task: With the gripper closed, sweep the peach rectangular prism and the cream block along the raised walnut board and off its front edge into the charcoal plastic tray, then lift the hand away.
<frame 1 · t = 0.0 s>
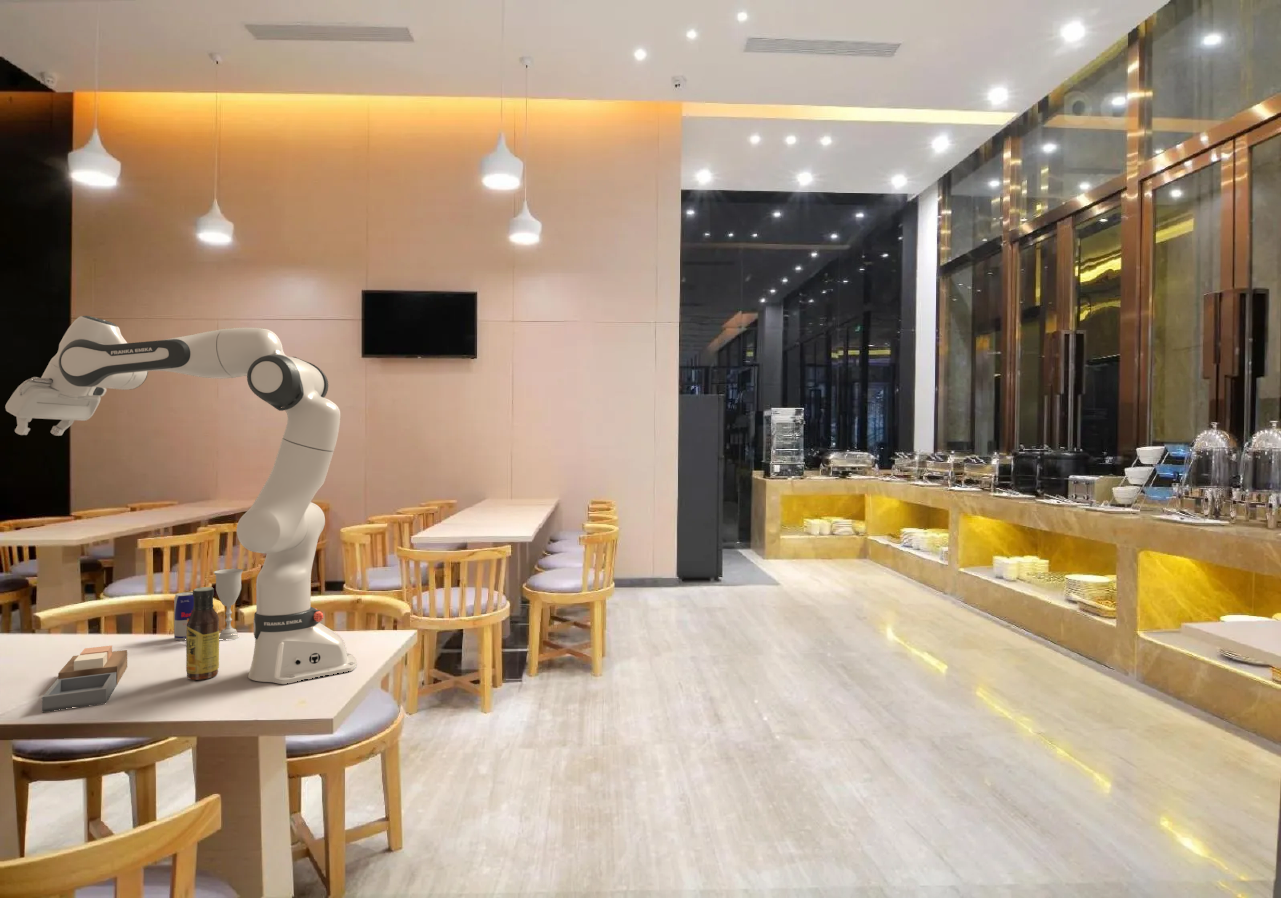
hand: (38, 434, 162), 54 cm above the table, tool tilted 30°, fingers open, 8 cm apart
peach rectangular prism: (96, 658, 159), point 4 cm above the table, touching walnut board
chalice: (228, 638, 191), on the table
energy drink: (186, 639, 191), on the table
cream block: (91, 665, 154), point 4 cm above the table, touching walnut board
walnut board: (94, 679, 157), on the table
charcoal tray: (81, 698, 145), on the table
sauce bottle: (202, 678, 159), on the table
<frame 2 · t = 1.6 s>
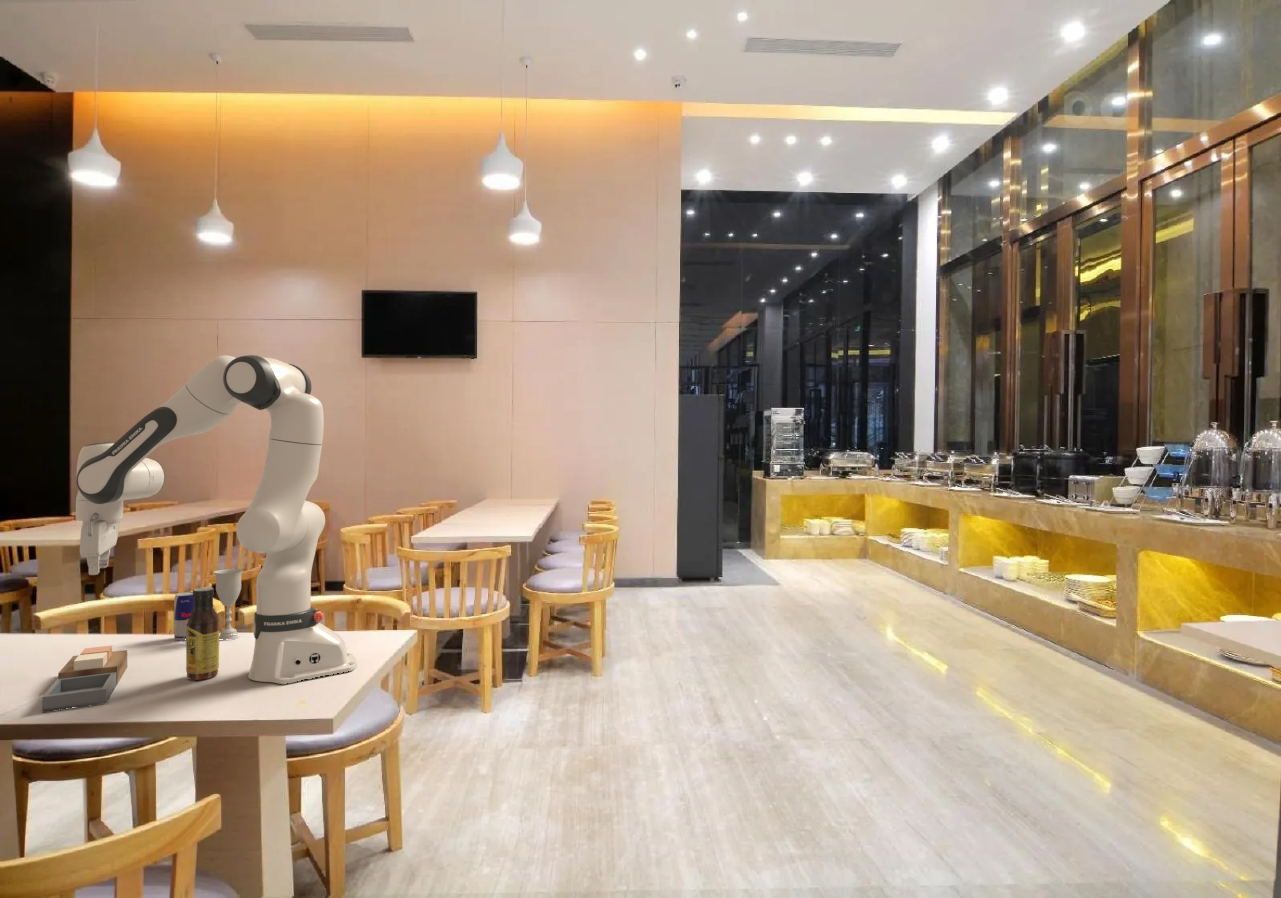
hand: (98, 571, 166), 22 cm above the table, tool pointing down, fingers open, 8 cm apart
nothing on the table moved.
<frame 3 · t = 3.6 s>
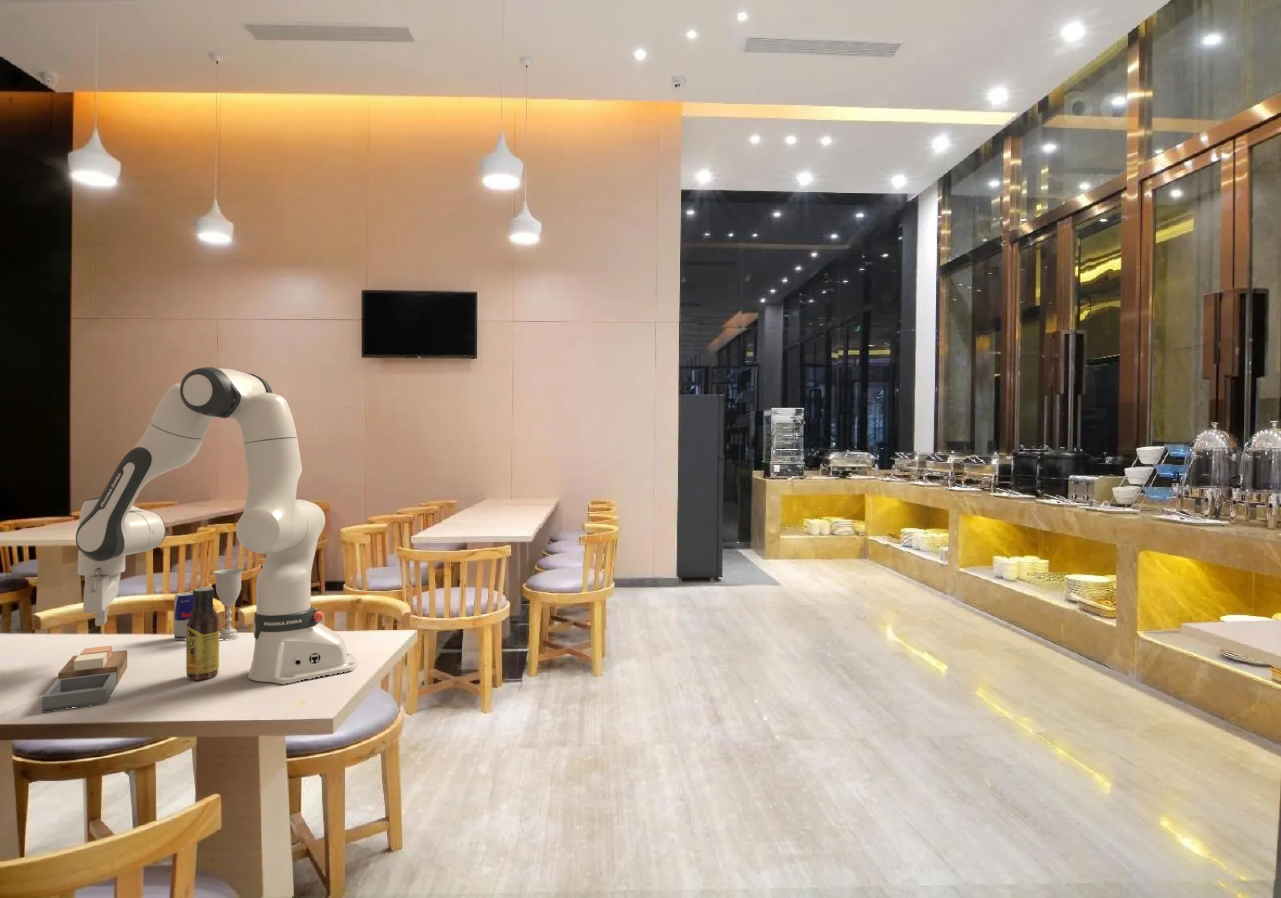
hand: (101, 624, 166), 10 cm above the table, tool pointing down, fingers closed
nothing on the table moved.
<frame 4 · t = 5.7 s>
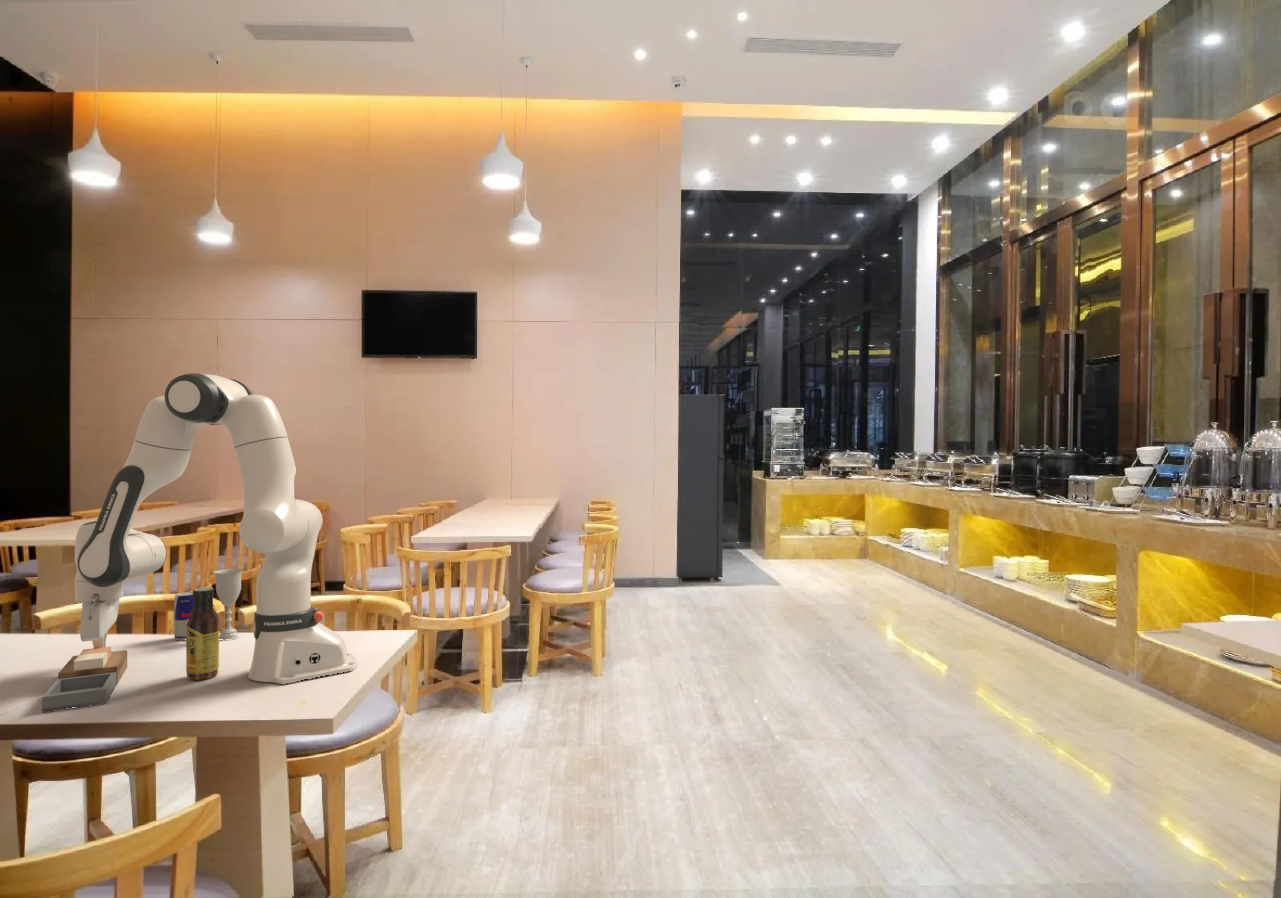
hand: (99, 651, 162), 5 cm above the table, tool pointing down, fingers closed
peach rectangular prism: (95, 659, 158), point 4 cm above the table, touching cream block, gripper
cream block: (91, 665, 154), point 4 cm above the table, touching peach rectangular prism
everything else where it was.
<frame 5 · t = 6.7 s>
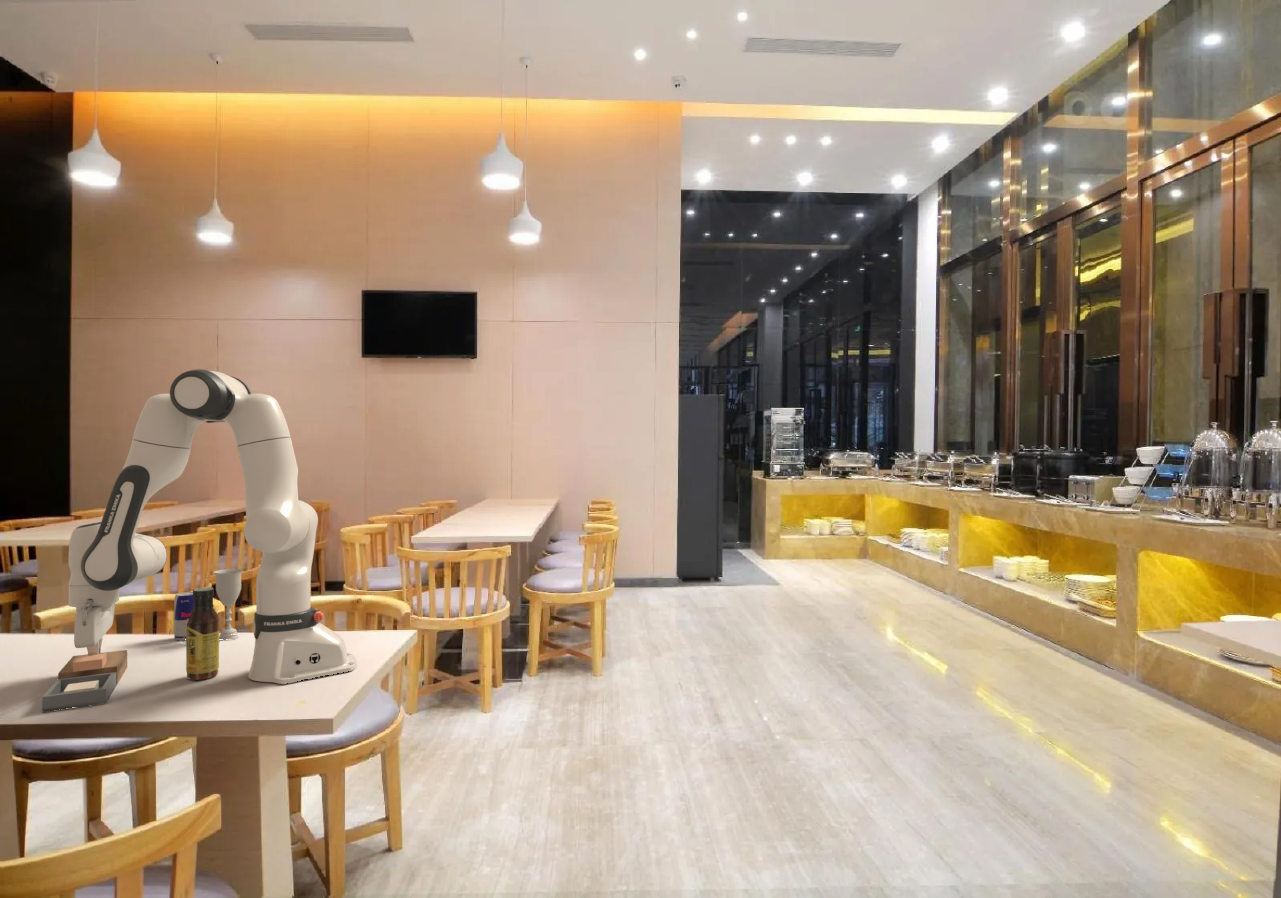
hand: (94, 658, 157), 5 cm above the table, tool pointing down, fingers closed
peach rectangular prism: (90, 667, 153), point 4 cm above the table, touching gripper, walnut board
cream block: (81, 685, 145), point 3 cm above the table, tilted 180°, touching charcoal tray
everything else where it was.
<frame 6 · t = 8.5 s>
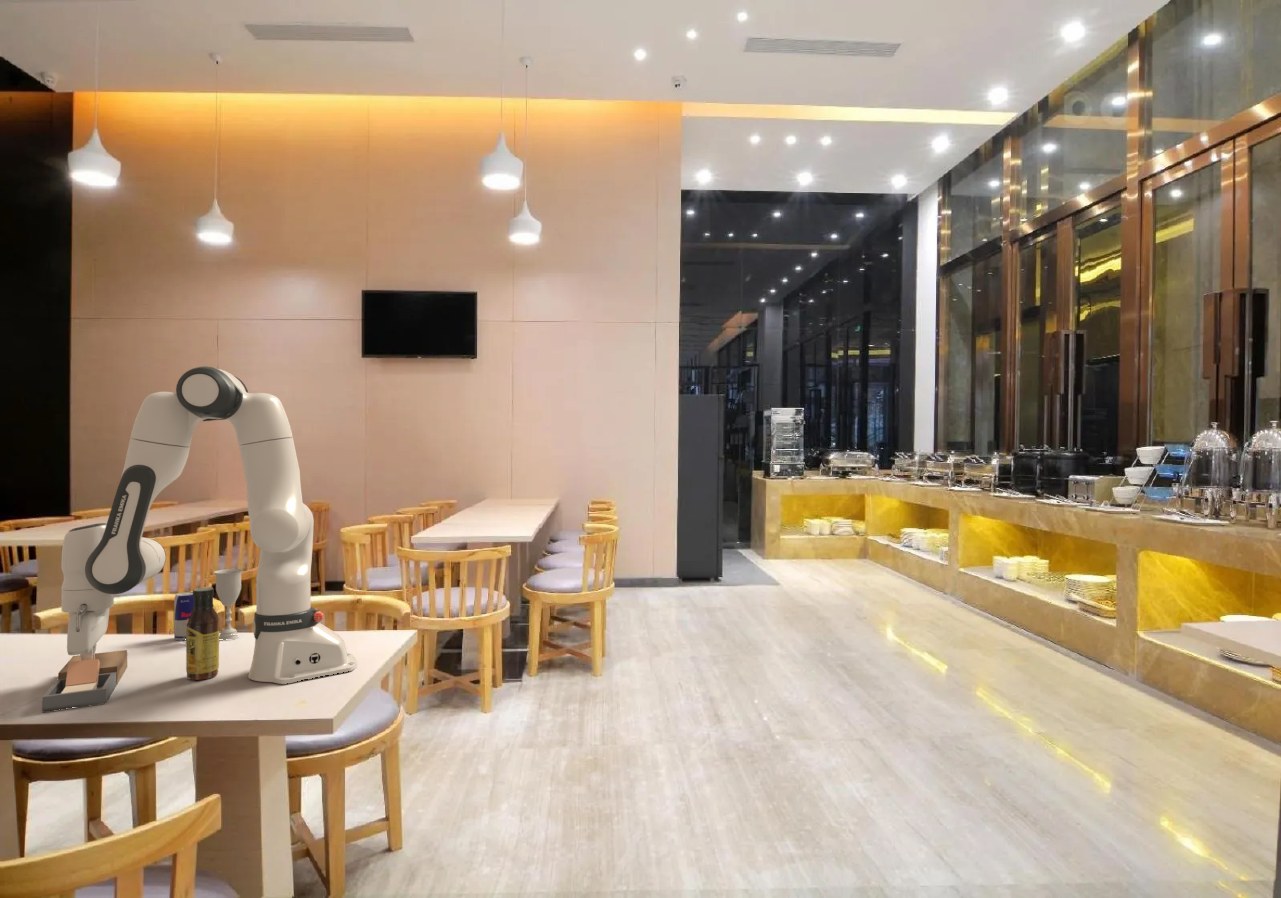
hand: (88, 665, 151), 5 cm above the table, tool pointing down, fingers closed
peach rectangular prism: (83, 675, 149), point 4 cm above the table, tilted 52°, touching cream block, gripper
cream block: (79, 687, 144), point 3 cm above the table, tilted 180°, touching charcoal tray, peach rectangular prism
everything else where it was.
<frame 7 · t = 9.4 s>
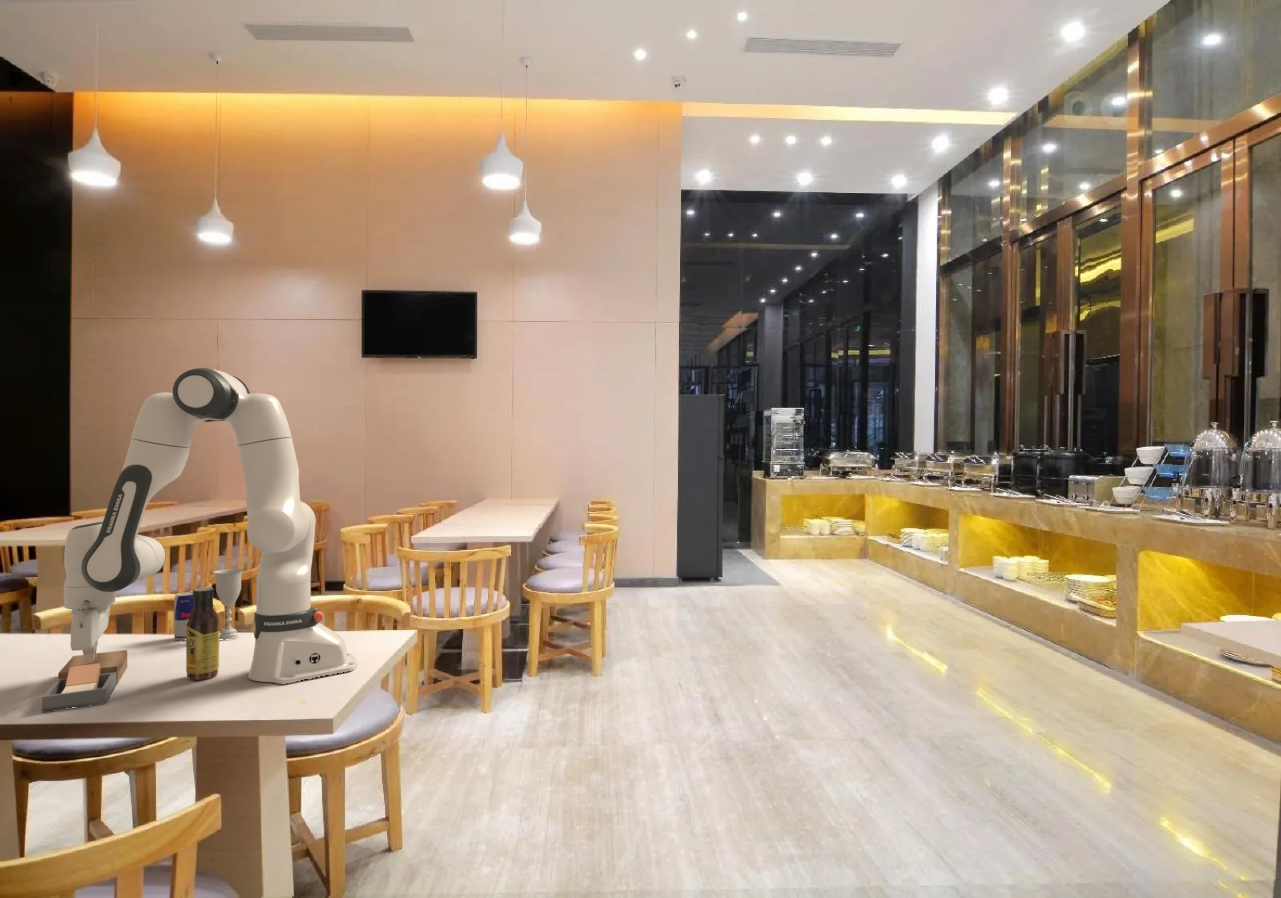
hand: (90, 660, 154), 5 cm above the table, tool pointing down, fingers closed
peach rectangular prism: (84, 681, 149), point 2 cm above the table, tilted 33°, touching charcoal tray, cream block
everything else where it was.
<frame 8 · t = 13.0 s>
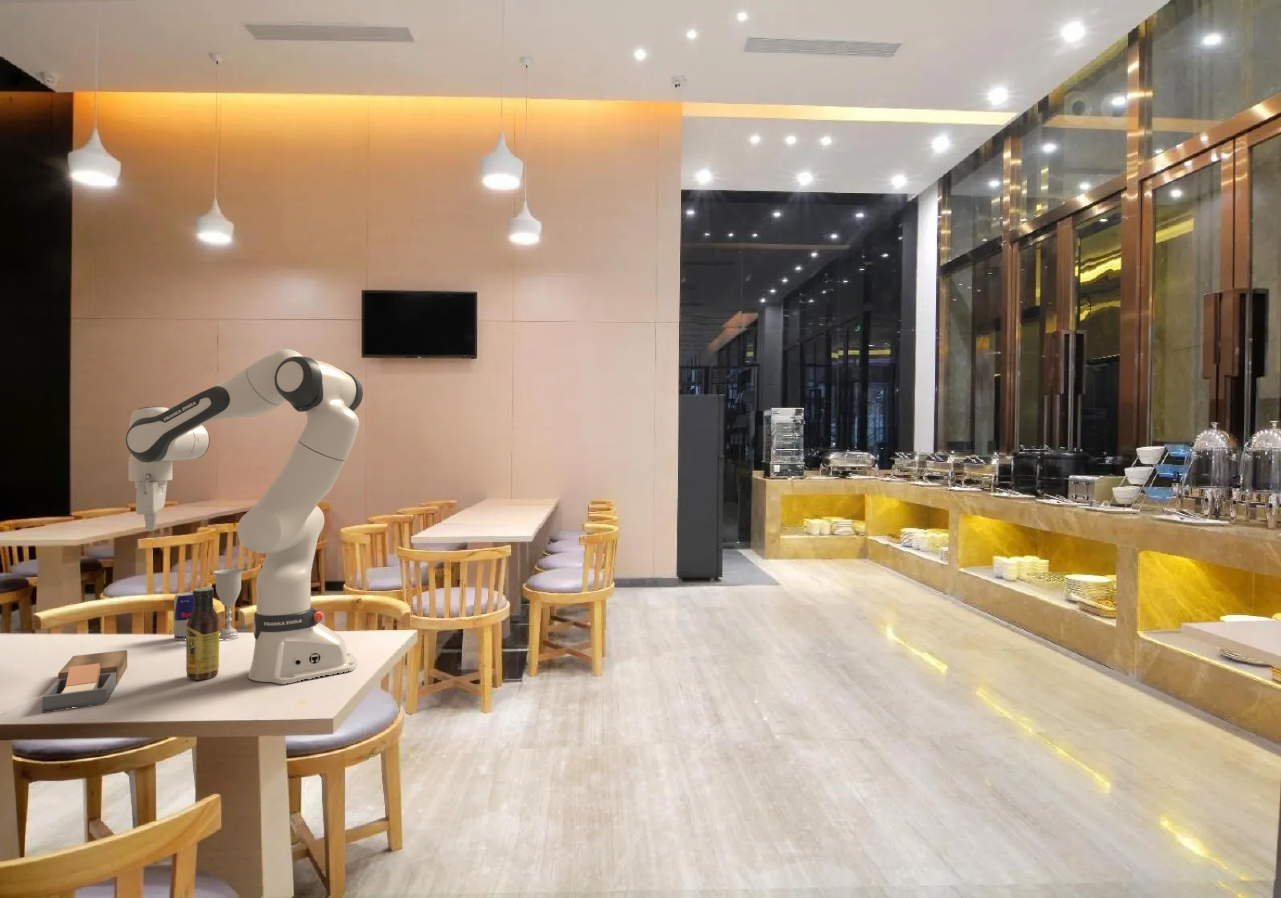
hand: (150, 530, 173), 31 cm above the table, tool pointing down, fingers closed
nothing on the table moved.
at the end: peach rectangular prism inside the target area (4.1 cm from its centre), point 2.4 cm above the table; cream block inside the target area (1.6 cm from its centre), point 2.6 cm above the table; walnut board moved 0.0 cm from its start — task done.
